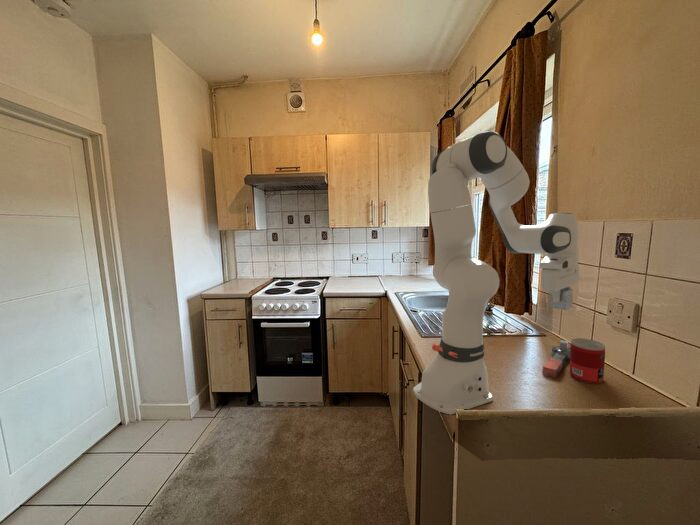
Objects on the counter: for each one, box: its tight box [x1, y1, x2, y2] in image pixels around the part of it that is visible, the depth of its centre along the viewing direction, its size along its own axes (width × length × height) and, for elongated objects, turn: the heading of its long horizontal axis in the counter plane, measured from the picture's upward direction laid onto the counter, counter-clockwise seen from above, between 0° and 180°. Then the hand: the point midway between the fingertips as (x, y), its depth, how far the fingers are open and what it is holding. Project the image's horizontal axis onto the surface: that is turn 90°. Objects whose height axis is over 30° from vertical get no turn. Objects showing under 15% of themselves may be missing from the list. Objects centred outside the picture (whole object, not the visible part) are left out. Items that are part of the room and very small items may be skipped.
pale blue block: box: [548, 288, 574, 311], centre depth 98 cm, size 5×5×6 cm
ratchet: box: [542, 339, 570, 379], centre depth 95 cm, size 22×7×6 cm, turn 132°
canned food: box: [569, 337, 606, 385], centre depth 86 cm, size 8×8×11 cm
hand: (561, 300), depth 98 cm, fingers closed on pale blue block, 5 cm apart
